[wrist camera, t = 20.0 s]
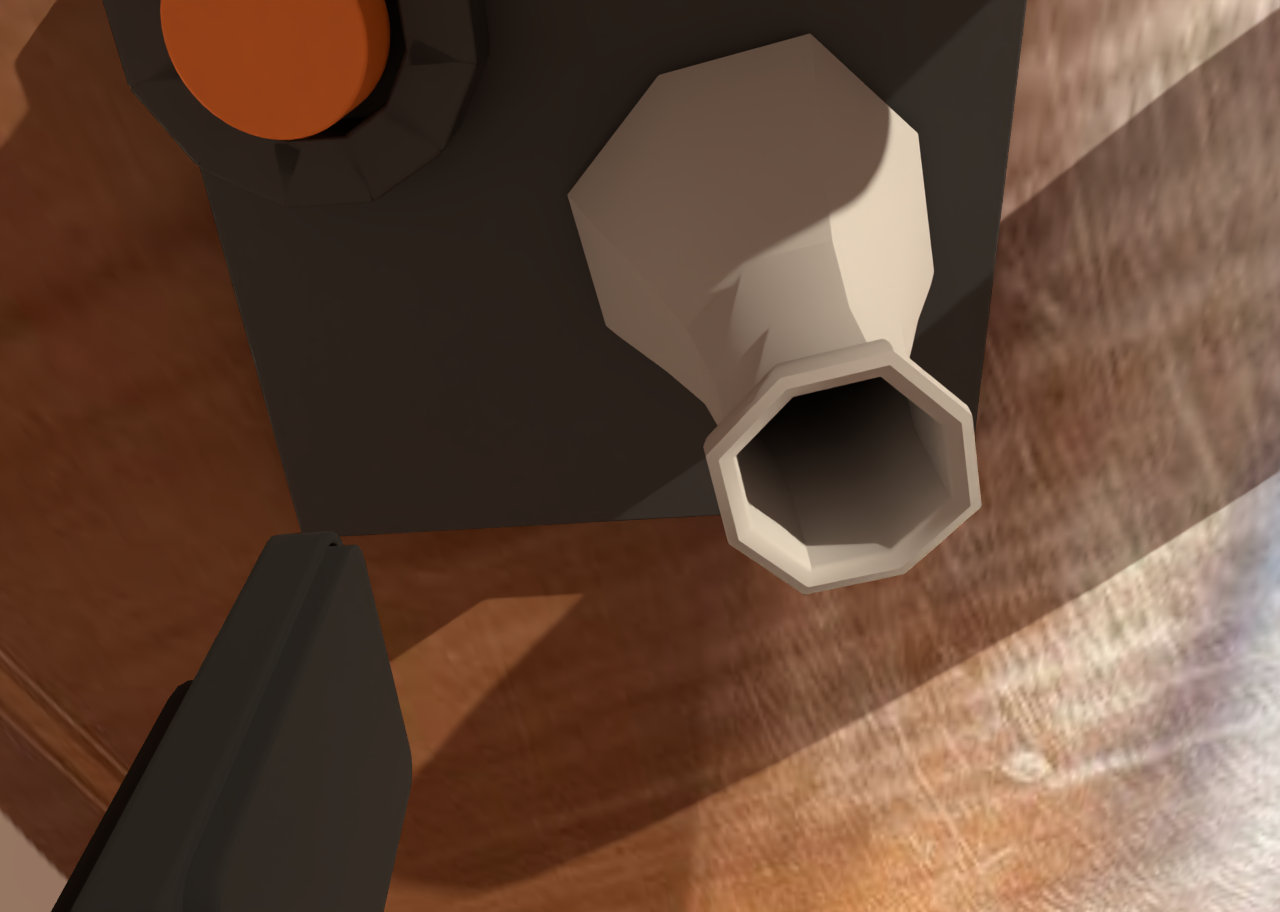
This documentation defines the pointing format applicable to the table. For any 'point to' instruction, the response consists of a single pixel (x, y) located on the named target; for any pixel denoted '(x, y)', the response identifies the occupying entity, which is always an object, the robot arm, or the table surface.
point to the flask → (787, 306)
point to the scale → (536, 247)
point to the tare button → (278, 59)
